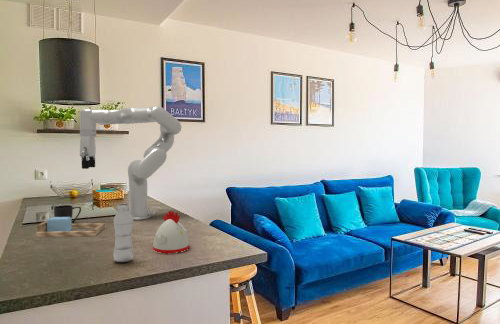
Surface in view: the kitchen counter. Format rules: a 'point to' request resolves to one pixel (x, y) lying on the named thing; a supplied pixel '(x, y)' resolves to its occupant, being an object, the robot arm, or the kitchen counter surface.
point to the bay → (97, 229)
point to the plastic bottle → (123, 234)
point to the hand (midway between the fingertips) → (88, 167)
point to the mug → (65, 211)
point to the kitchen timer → (171, 235)
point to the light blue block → (59, 224)
